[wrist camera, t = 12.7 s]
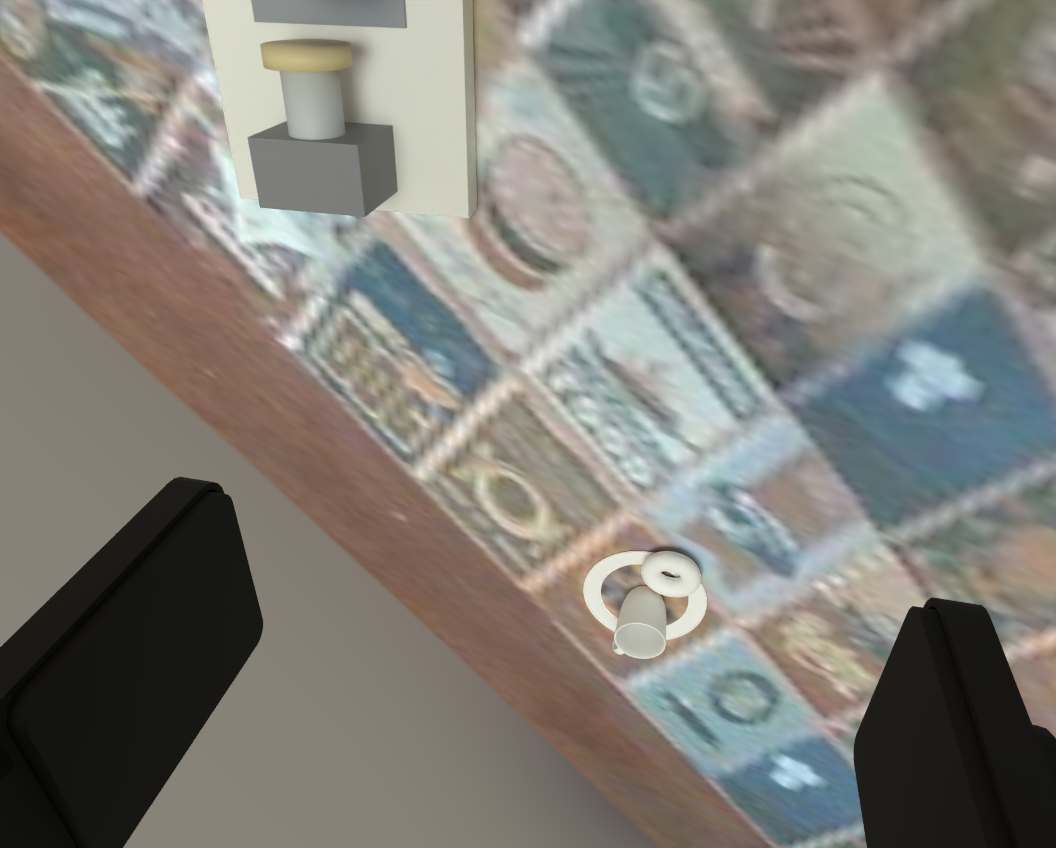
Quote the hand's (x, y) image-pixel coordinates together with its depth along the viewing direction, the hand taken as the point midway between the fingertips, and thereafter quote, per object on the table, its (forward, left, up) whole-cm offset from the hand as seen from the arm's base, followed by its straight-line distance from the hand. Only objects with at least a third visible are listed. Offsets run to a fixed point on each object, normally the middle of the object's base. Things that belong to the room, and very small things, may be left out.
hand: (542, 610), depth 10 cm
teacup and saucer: (-5, +28, -29) cm, 41 cm away
